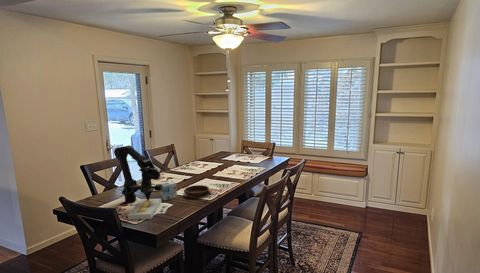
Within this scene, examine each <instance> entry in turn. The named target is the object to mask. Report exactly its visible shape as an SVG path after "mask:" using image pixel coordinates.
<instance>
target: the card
mask: <svg viewBox="0 0 480 273" xmlns="http://www.w3.org/2000/svg"><path fill="white" fill-rule="evenodd" d="M168 208H169V205H160V206H159V208H158V209H157V211H156V215H158V214H160V215H161V214H162V215H163V214H165V213H166V212H167V210H168Z"/></svg>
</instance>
